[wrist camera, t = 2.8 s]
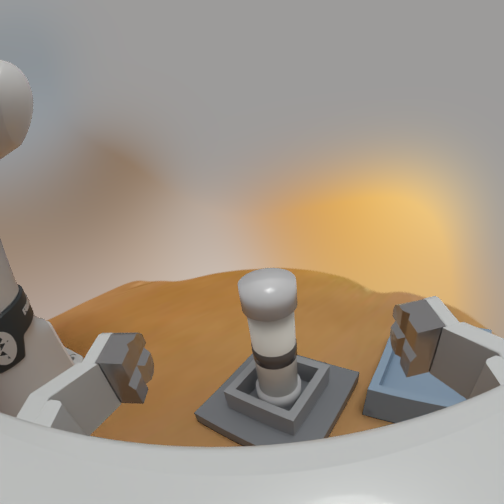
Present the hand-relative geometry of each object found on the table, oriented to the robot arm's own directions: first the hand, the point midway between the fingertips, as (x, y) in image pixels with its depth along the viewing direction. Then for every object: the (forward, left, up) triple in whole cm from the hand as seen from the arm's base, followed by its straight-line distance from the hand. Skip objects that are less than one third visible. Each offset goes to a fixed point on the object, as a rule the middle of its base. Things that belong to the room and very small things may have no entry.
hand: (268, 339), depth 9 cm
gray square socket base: (-7, +10, -19) cm, 23 cm away
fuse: (-7, +10, -18) cm, 22 cm away
